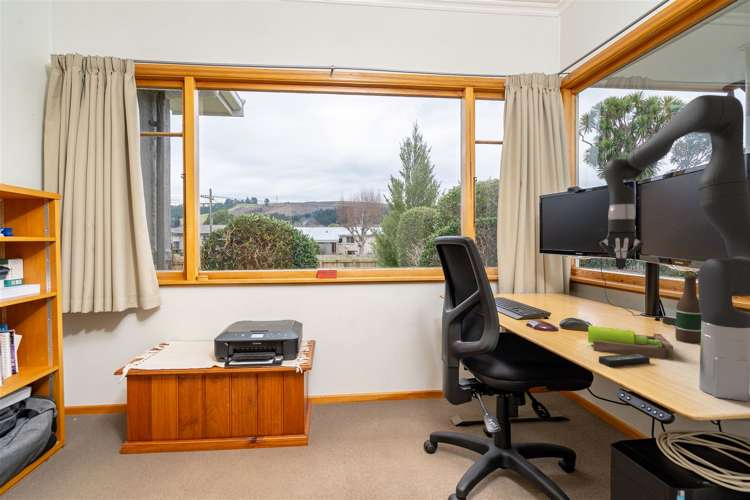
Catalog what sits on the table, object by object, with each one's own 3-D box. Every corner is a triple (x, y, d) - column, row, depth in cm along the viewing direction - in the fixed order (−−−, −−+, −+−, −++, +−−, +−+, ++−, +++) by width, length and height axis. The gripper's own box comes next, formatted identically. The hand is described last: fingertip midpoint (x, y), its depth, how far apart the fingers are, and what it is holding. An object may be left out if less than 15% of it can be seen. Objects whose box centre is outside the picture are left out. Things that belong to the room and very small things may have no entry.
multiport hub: (597, 363, 116) (598, 356, 116) (637, 360, 119) (637, 352, 119) (609, 368, 112) (609, 361, 112) (650, 365, 115) (650, 357, 115)
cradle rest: (672, 359, 119) (673, 346, 118) (593, 350, 128) (593, 338, 128) (660, 345, 133) (660, 334, 133) (589, 338, 142) (590, 327, 142)
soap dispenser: (588, 326, 131) (660, 334, 120) (589, 325, 137) (659, 333, 126) (587, 343, 131) (660, 353, 119) (589, 341, 136) (658, 351, 125)
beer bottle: (707, 344, 134) (710, 276, 133) (682, 343, 135) (684, 276, 134) (693, 338, 141) (696, 274, 140) (670, 337, 143) (672, 273, 142)
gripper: (600, 218, 129) (599, 269, 129) (647, 217, 123) (646, 270, 124) (597, 219, 135) (596, 267, 136) (642, 218, 130) (641, 268, 130)
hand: (620, 269), depth 130 cm, fingers closed
